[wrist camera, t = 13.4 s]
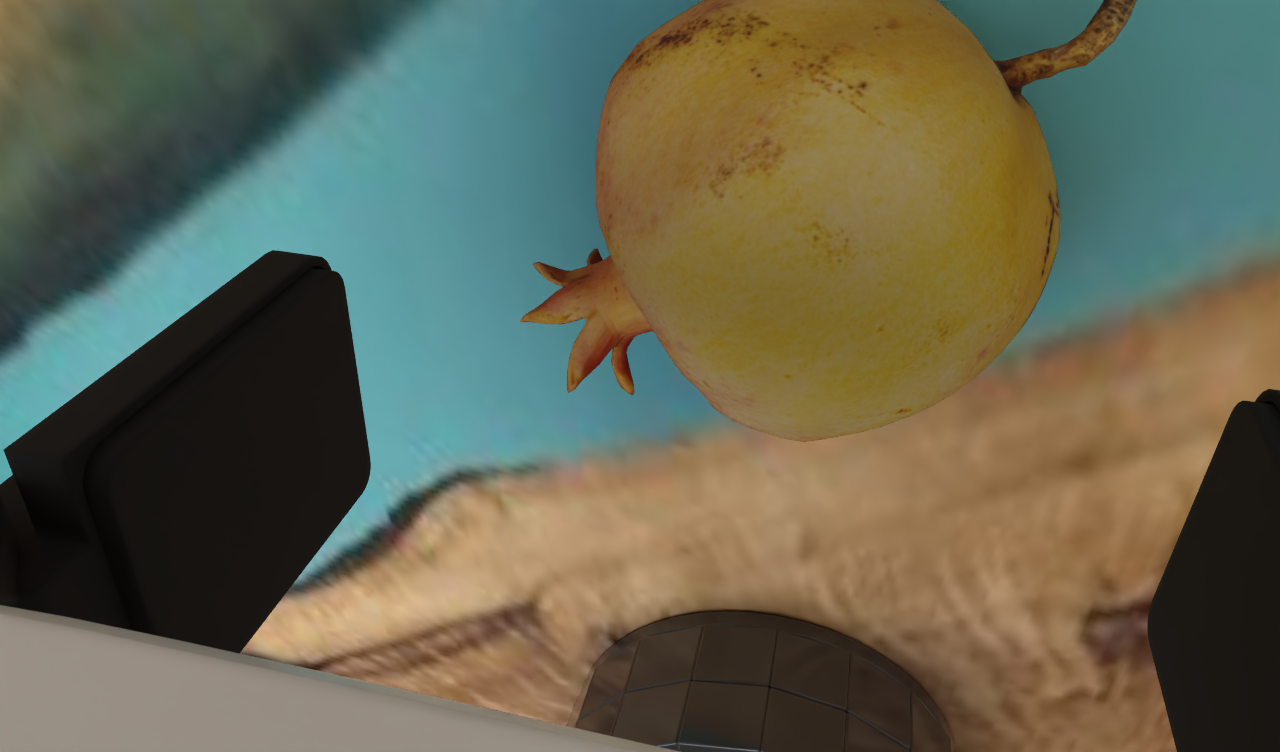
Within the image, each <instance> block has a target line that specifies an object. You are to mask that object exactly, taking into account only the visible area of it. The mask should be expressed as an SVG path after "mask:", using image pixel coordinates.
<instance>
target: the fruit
mask: <svg viewBox="0 0 1280 752" xmlns="http://www.w3.org/2000/svg"><path fill="white" fill-rule="evenodd" d="M1135 3H1136V0H1104V2H1103V3H1102V5H1101V6H1100V8H1099V9H1098V11H1097V13H1096V14H1095V16H1094V17H1093V18H1092V20H1091V21H1090V22H1089V24H1088V26H1087V27H1086V29H1085V30H1084V31H1083V32H1082V33H1081V34H1080V35H1078V36H1077V37H1075V38H1074V39H1073V40H1071V41H1070V42H1068V43H1067V44H1064V45H1061V46H1058V47H1055V48H1049V49H1043V50H1040V51H1037V52H1035V53H1032V54H1028V55H1024V56H1021V57H1017V58H1013V59H1010V60H1006V61H994V60H992V59H991V58H990V56H989V55H988V54H987V52H986V51H985V49H984V48H983V46H982V45H981V44H980V42H979V41H978V39H977V38H976V37H975V35H974V34H973V33H972V32H971V31H970V30H969V28H968V27H967V26H965V25H964V24H963V23H962V22H961V21H960V20H959V19H958V18H956V17H955V16H954V15H953V14H952V13H951V12H950V11H949V10H947V9H946V8H945V7H944V6H943V5H942V4H941V3H939V2H938V1H937V0H703V1H701V2H700V3H698V4H696V5H695V6H693V7H691V8H690V9H688V10H686V11H685V12H683V13H681V14H680V15H678V16H676V17H675V18H673V19H671V20H670V21H668V22H667V23H665V24H663V25H662V26H660V27H659V28H658V29H656V30H655V31H654V32H652V33H651V34H650V35H649V36H647V37H646V38H645V39H643V40H642V41H641V42H639V43H638V44H637V45H636V46H635V48H634V49H633V50H632V52H631V53H630V54H629V55H628V57H627V58H626V59H625V60H624V62H623V63H622V65H621V66H620V68H619V69H618V71H617V72H616V74H615V75H614V77H613V78H612V80H611V83H610V85H609V88H608V91H607V94H606V97H605V101H604V105H603V109H602V113H601V118H600V125H599V132H598V139H597V157H596V207H597V212H598V218H599V223H600V228H601V231H602V233H603V236H604V239H605V242H606V244H607V247H608V250H609V253H610V255H611V256H609V257H608V258H606V259H604V260H602V258H601V256H600V253H599V251H598V249H597V248H596V249H594V250H593V251H592V252H591V253H590V254H589V257H588V259H587V261H586V263H587V265H588V266H586V267H583V268H579V269H576V270H573V271H565V270H562V269H558V268H555V267H552V266H549V265H546V264H543V263H541V262H536V263H534V264H533V266H534V267H535V268H536V269H537V270H538V272H539V273H540V274H541V275H542V276H543V277H544V278H546V279H547V280H548V281H550V282H552V283H554V284H557V285H561V286H564V287H563V288H561V289H560V290H558V291H557V292H555V293H554V294H553V295H552V296H550V297H549V298H548V299H547V300H546V301H544V302H543V303H542V304H541V305H539V306H538V307H536V308H535V309H534V310H532V311H530V312H529V313H527V314H526V315H524V316H523V318H522V319H521V321H520V322H536V323H545V324H565V323H569V322H573V321H577V320H580V319H582V318H585V319H587V321H586V324H585V326H584V327H583V329H582V331H581V332H580V334H579V336H578V337H577V339H576V340H575V342H574V345H573V348H572V351H571V354H570V357H569V363H568V371H567V390H568V392H571V391H573V390H574V389H576V387H577V386H578V385H579V384H580V382H581V381H582V380H583V379H584V378H585V377H587V376H588V375H589V374H590V373H591V372H592V371H593V370H594V369H595V368H596V367H597V366H598V365H599V364H600V363H601V362H602V360H603V359H604V358H605V356H606V355H607V354H608V353H609V352H610V350H611V349H612V348H613V351H612V359H611V362H612V366H613V370H614V373H615V376H616V378H617V381H618V383H619V385H620V386H621V388H623V389H624V390H625V391H626V392H628V393H629V394H631V395H633V394H634V383H633V380H632V376H631V372H630V368H629V363H628V358H627V353H626V352H627V348H628V346H629V344H630V343H631V341H632V340H633V338H634V337H635V336H637V335H639V334H642V333H646V332H650V331H654V333H655V334H656V336H657V338H658V339H659V341H660V342H661V344H662V345H663V347H664V349H665V350H666V352H667V353H668V355H669V357H670V358H671V359H672V361H673V362H674V364H675V365H676V366H677V368H678V369H679V370H680V372H681V373H682V374H683V375H684V376H685V377H686V378H687V379H688V380H689V381H690V382H691V383H692V384H694V385H695V386H696V387H697V388H698V389H699V390H700V392H701V393H702V394H703V395H704V397H705V398H706V399H707V400H708V402H709V403H710V404H711V405H712V407H713V408H715V409H716V410H717V411H719V412H720V413H721V414H723V415H725V416H727V417H728V418H730V419H732V420H733V421H735V422H738V423H740V424H742V425H744V426H746V427H749V428H751V429H754V430H758V431H761V432H764V433H767V434H770V435H773V436H777V437H780V438H785V439H790V440H796V441H804V442H806V441H814V440H822V439H827V438H833V437H838V436H843V435H848V434H854V433H859V432H863V431H867V430H870V429H874V428H877V427H881V426H884V425H887V424H890V423H892V422H895V421H898V420H901V419H903V418H906V417H909V416H911V415H913V414H915V413H917V412H920V411H922V410H924V409H926V408H928V407H930V406H932V405H934V404H936V403H938V402H939V401H941V400H943V399H944V398H946V397H948V396H949V395H951V394H953V393H954V392H956V391H958V390H959V389H960V388H962V387H963V386H964V385H966V384H967V383H968V382H970V381H971V380H972V379H973V378H975V377H976V376H977V375H978V374H979V373H980V372H981V371H982V370H983V369H984V368H986V367H987V366H988V365H989V364H990V363H991V362H992V361H993V360H994V359H995V358H996V357H997V356H998V355H999V354H1000V353H1001V352H1002V351H1003V349H1004V348H1005V347H1006V346H1007V345H1008V344H1009V343H1010V342H1011V341H1012V339H1013V338H1014V337H1015V336H1016V335H1017V333H1018V332H1019V331H1020V329H1021V328H1022V327H1023V325H1024V324H1025V323H1026V321H1027V320H1028V318H1029V317H1030V315H1031V313H1032V311H1033V310H1034V308H1035V306H1036V304H1037V302H1038V300H1039V298H1040V296H1041V294H1042V292H1043V289H1044V287H1045V285H1046V282H1047V279H1048V277H1049V274H1050V271H1051V268H1052V265H1053V262H1054V259H1055V256H1056V252H1057V247H1058V242H1059V236H1060V207H1059V199H1058V192H1057V185H1056V180H1055V175H1054V171H1053V168H1052V164H1051V160H1050V156H1049V152H1048V148H1047V145H1046V142H1045V139H1044V137H1043V134H1042V131H1041V128H1040V125H1039V123H1038V121H1037V118H1036V116H1035V114H1034V111H1033V109H1032V107H1031V105H1030V104H1029V103H1028V101H1027V100H1026V99H1025V98H1024V97H1023V96H1022V95H1021V89H1022V86H1024V85H1026V84H1028V83H1030V82H1033V81H1035V80H1038V79H1043V78H1048V77H1051V76H1053V75H1055V74H1057V73H1059V72H1061V71H1064V70H1067V69H1071V68H1075V67H1080V66H1085V65H1087V64H1088V63H1089V62H1090V61H1092V60H1093V59H1094V58H1095V57H1096V56H1098V55H1099V54H1100V53H1101V52H1103V51H1104V50H1105V49H1106V48H1107V47H1108V46H1109V45H1110V44H1111V43H1113V42H1114V40H1115V39H1116V37H1117V36H1118V35H1119V33H1120V32H1121V30H1122V29H1123V27H1124V26H1125V24H1126V23H1127V21H1128V19H1129V17H1130V15H1131V13H1132V10H1133V8H1134V5H1135Z"/></svg>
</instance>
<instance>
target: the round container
mask: <svg viewBox="0 0 1280 752" xmlns="http://www.w3.org/2000/svg"><path fill="white" fill-rule="evenodd" d="M567 726H568V727H573V728H577V729H582V730H586V731H591V732H595V733H600V734H604V735H608V736H613V737H617V738H622V739H626V740H631V741H635V742H639V743H644V744H648V745H653V746H657V747H661V748H666V749H670V750H675V751H679V752H957V751H956V747H955V742H954V738H953V736H952V734H951V731H950V729H949V726H948V724H947V722H946V720H945V718H944V717H943V715H942V714H941V712H940V710H939V709H938V707H937V706H936V704H935V703H934V701H933V700H932V699H931V698H930V697H929V696H928V694H927V693H926V692H925V691H924V690H923V689H922V687H921V686H920V685H919V684H918V683H916V682H915V681H914V680H913V679H912V678H911V677H910V676H909V675H908V674H907V673H905V672H904V671H903V670H902V669H901V668H899V667H898V666H896V665H895V664H894V663H892V662H891V661H889V660H888V659H887V658H885V657H884V656H882V655H881V654H879V653H877V652H875V651H874V650H872V649H870V648H868V647H866V646H865V645H863V644H861V643H859V642H857V641H855V640H853V639H850V638H848V637H846V636H844V635H841V634H839V633H837V632H834V631H832V630H829V629H826V628H823V627H820V626H817V625H814V624H811V623H808V622H804V621H799V620H795V619H791V618H786V617H782V616H776V615H769V614H762V613H754V612H735V611H719V612H702V613H694V614H688V615H682V616H676V617H673V618H669V619H666V620H662V621H658V622H655V623H652V624H650V625H648V626H645V627H643V628H641V629H638V630H636V631H634V632H632V633H631V634H629V635H627V636H626V637H624V638H622V639H621V640H619V641H618V642H616V643H615V644H614V645H613V646H612V647H611V648H609V649H608V650H607V651H606V652H605V653H604V654H603V655H602V656H601V657H600V658H599V660H598V661H597V662H596V663H595V664H594V666H593V667H592V669H591V671H590V672H589V674H588V676H587V678H586V680H585V682H584V685H583V688H582V691H581V693H580V695H579V697H578V698H577V700H576V702H575V704H574V706H573V709H572V712H571V715H570V718H569V721H568V724H567Z"/></svg>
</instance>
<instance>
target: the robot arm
mask: <svg viewBox="0 0 1280 752" xmlns="http://www.w3.org/2000/svg"><path fill="white" fill-rule="evenodd" d="M4 452H5V455H6V457H7V460H8V463H9V465H10V468H11V470H12V473H13V475H12V476H11V477H9V478H8V479H7V480H6V481H4V482H3V483H2V484H1V485H0V752H679V751H675V750H670V749H666V748H661V747H657V746H653V745H648V744H644V743H639V742H635V741H631V740H626V739H622V738H617V737H613V736H608V735H604V734H600V733H595V732H591V731H586V730H582V729H577V728H573V727H568V726H564V725H560V724H555V723H551V722H546V721H542V720H537V719H533V718H528V717H524V716H519V715H515V714H511V713H506V712H502V711H497V710H493V709H488V708H484V707H479V706H475V705H470V704H466V703H462V702H457V701H453V700H448V699H444V698H439V697H435V696H430V695H426V694H421V693H417V692H412V691H408V690H403V689H399V688H394V687H389V686H385V685H380V684H376V683H371V682H367V681H362V680H358V679H353V678H348V677H344V676H339V675H335V674H330V673H326V672H321V671H316V670H312V669H307V668H303V667H298V666H294V665H289V664H285V663H280V662H275V661H271V660H266V659H262V658H257V657H253V656H248V655H244V654H239V653H240V652H241V651H242V650H243V648H244V647H245V646H246V644H247V643H248V642H249V640H250V639H251V638H252V637H253V635H254V634H255V633H256V631H257V630H258V629H259V627H260V626H261V625H262V623H263V622H264V621H265V620H266V618H267V617H268V616H269V614H270V613H271V612H272V610H273V609H274V608H275V607H276V605H277V604H278V603H279V601H280V600H281V599H282V597H283V596H284V595H285V594H286V592H287V591H288V590H289V588H290V587H291V586H292V584H293V583H294V582H295V580H296V579H297V578H298V577H299V575H300V574H301V573H302V571H303V570H304V569H305V567H306V566H307V565H308V564H309V562H310V561H311V560H312V558H313V557H314V556H315V554H316V553H317V552H318V551H319V549H320V548H321V547H322V545H323V544H324V543H325V541H326V540H327V539H328V537H329V536H330V535H331V534H332V532H333V531H334V530H335V528H336V527H337V526H338V524H339V523H340V522H341V521H342V519H343V518H344V517H345V515H346V514H347V513H348V511H349V510H350V509H351V508H352V506H353V505H354V504H355V502H356V501H357V500H358V498H359V497H360V496H361V495H362V493H363V491H364V490H365V488H366V485H367V483H368V480H369V476H370V468H371V463H370V454H369V447H368V441H367V434H366V427H365V420H364V414H363V407H362V400H361V393H360V386H359V380H358V373H357V366H356V359H355V353H354V346H353V339H352V332H351V326H350V319H349V312H348V305H347V299H346V292H345V286H344V282H343V279H342V277H341V275H340V274H339V273H337V272H335V271H332V270H331V267H330V266H329V264H328V262H327V261H326V260H325V259H324V258H322V257H319V256H312V255H304V254H297V253H290V252H283V251H274V250H273V251H270V252H268V253H266V254H265V255H263V256H262V257H261V258H259V259H258V260H257V261H255V262H254V263H253V264H251V265H250V266H249V267H247V268H246V269H245V270H243V271H242V272H241V273H239V274H238V275H237V276H235V277H234V278H233V279H231V280H230V281H229V282H227V283H226V284H225V285H223V286H222V287H221V288H219V289H218V290H217V291H215V292H214V293H213V294H211V295H210V296H209V297H207V298H206V299H205V300H203V301H202V302H201V303H199V304H198V305H197V306H195V307H194V308H193V309H191V310H190V311H189V312H187V313H186V314H185V315H183V316H182V317H180V318H179V319H178V320H176V321H175V322H174V323H172V324H171V325H170V326H168V327H167V328H166V329H164V330H163V331H162V332H160V333H159V334H158V335H156V336H155V337H154V338H152V339H151V340H150V341H148V342H147V343H146V344H144V345H143V346H142V347H140V348H139V349H138V350H136V351H135V352H134V353H132V354H131V355H130V356H128V357H127V358H126V359H124V360H123V361H122V362H120V363H119V364H118V365H116V366H115V367H114V368H112V369H111V370H110V371H108V372H107V373H106V374H104V375H103V376H102V377H100V378H99V379H98V380H96V381H95V382H94V383H92V384H91V385H90V386H88V387H87V388H86V389H84V390H83V391H82V392H80V393H79V394H78V395H76V396H75V397H74V398H72V399H71V400H70V401H68V402H67V403H66V404H64V405H63V406H62V407H60V408H59V409H58V410H56V411H55V412H53V413H52V414H51V415H49V416H48V417H47V418H45V419H44V420H43V421H41V422H40V423H39V424H37V425H36V426H35V427H33V428H32V429H31V430H29V431H28V432H27V433H25V434H24V435H23V436H21V437H20V438H19V439H17V440H16V441H15V442H13V443H12V444H11V445H9V446H8V447H7V448H5V449H4ZM1148 638H1149V643H1150V647H1151V651H1152V655H1153V659H1154V663H1155V667H1156V671H1157V675H1158V679H1159V683H1160V686H1161V690H1162V694H1163V698H1164V702H1165V706H1166V710H1167V714H1168V718H1169V722H1170V726H1171V730H1172V734H1173V737H1174V741H1175V745H1176V749H1177V752H1280V391H1279V390H1272V389H1268V390H1266V391H1264V392H1262V393H1261V395H1260V396H1259V397H1258V398H1257V399H1256V401H1255V402H1250V401H1241V402H1239V403H1238V404H1237V405H1236V406H1235V407H1234V409H1233V411H1232V413H1231V415H1230V417H1229V419H1228V422H1227V424H1226V426H1225V429H1224V431H1223V434H1222V436H1221V438H1220V441H1219V443H1218V445H1217V448H1216V450H1215V453H1214V455H1213V457H1212V460H1211V462H1210V464H1209V467H1208V469H1207V472H1206V474H1205V476H1204V479H1203V481H1202V484H1201V486H1200V488H1199V491H1198V493H1197V495H1196V498H1195V500H1194V503H1193V505H1192V507H1191V510H1190V512H1189V514H1188V517H1187V519H1186V522H1185V524H1184V526H1183V529H1182V531H1181V533H1180V536H1179V538H1178V541H1177V543H1176V545H1175V548H1174V550H1173V552H1172V555H1171V557H1170V560H1169V562H1168V564H1167V567H1166V569H1165V571H1164V574H1163V576H1162V579H1161V581H1160V583H1159V586H1158V588H1157V590H1156V593H1155V595H1154V598H1153V600H1152V603H1151V606H1150V610H1149V615H1148Z"/></svg>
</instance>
